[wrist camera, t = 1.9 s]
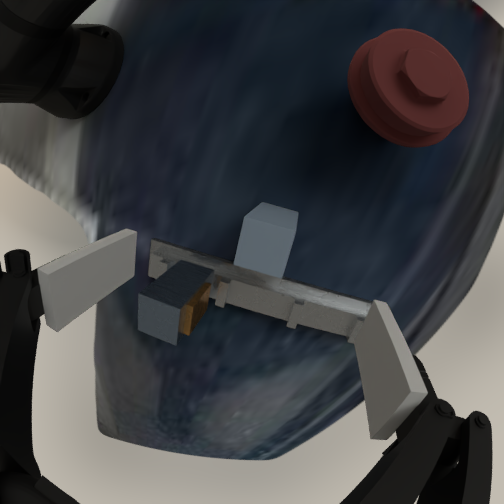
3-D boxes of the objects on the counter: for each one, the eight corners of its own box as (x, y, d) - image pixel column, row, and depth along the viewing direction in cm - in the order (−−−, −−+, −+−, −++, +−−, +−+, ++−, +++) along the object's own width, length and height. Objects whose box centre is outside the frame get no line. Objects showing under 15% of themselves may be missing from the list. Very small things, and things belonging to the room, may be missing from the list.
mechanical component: (415, 69, 21) (428, 152, 24) (331, 64, 23) (344, 151, 26) (464, 28, 9) (493, 149, 12) (344, 6, 11) (372, 139, 14)
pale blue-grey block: (262, 202, 29) (244, 216, 21) (298, 212, 29) (296, 230, 20) (252, 241, 31) (231, 271, 22) (287, 251, 30) (279, 285, 22)
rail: (151, 273, 34) (97, 314, 24) (154, 237, 33) (95, 270, 22) (372, 338, 31) (391, 403, 21) (389, 305, 30) (418, 366, 19)
